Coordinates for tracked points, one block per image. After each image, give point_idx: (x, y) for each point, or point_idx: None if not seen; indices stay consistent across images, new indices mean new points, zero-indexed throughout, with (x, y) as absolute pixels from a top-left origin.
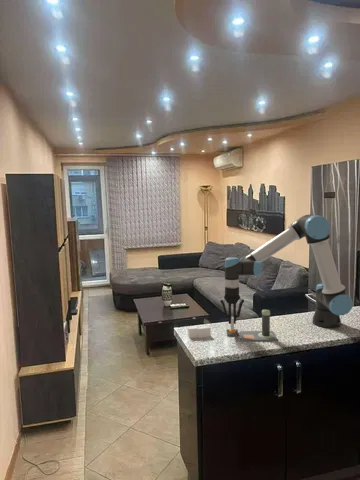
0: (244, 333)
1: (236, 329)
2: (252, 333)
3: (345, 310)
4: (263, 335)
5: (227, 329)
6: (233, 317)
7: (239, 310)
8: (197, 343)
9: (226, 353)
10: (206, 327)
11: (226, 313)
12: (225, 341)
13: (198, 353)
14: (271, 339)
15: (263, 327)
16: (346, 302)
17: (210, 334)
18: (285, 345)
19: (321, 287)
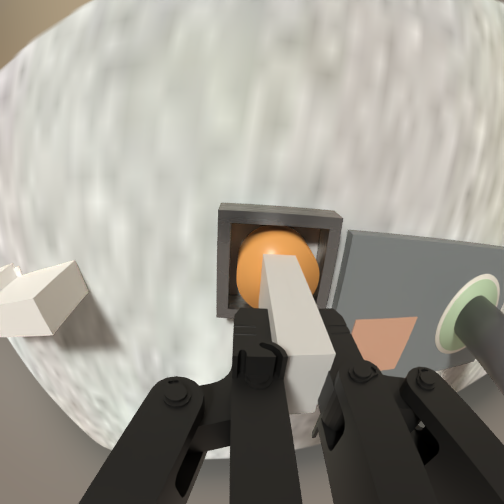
0: (374, 290)
1: (331, 222)
2: (425, 292)
3: None
4: (455, 332)
5: (230, 212)
6: (323, 392)
7: (438, 499)
8: (54, 366)
9: None
10: (26, 323)
11: (180, 488)
12: (198, 377)
13: (95, 433)
14: (454, 365)
15: (482, 366)
16: None
17: (80, 299)
18: (460, 387)
19: None
